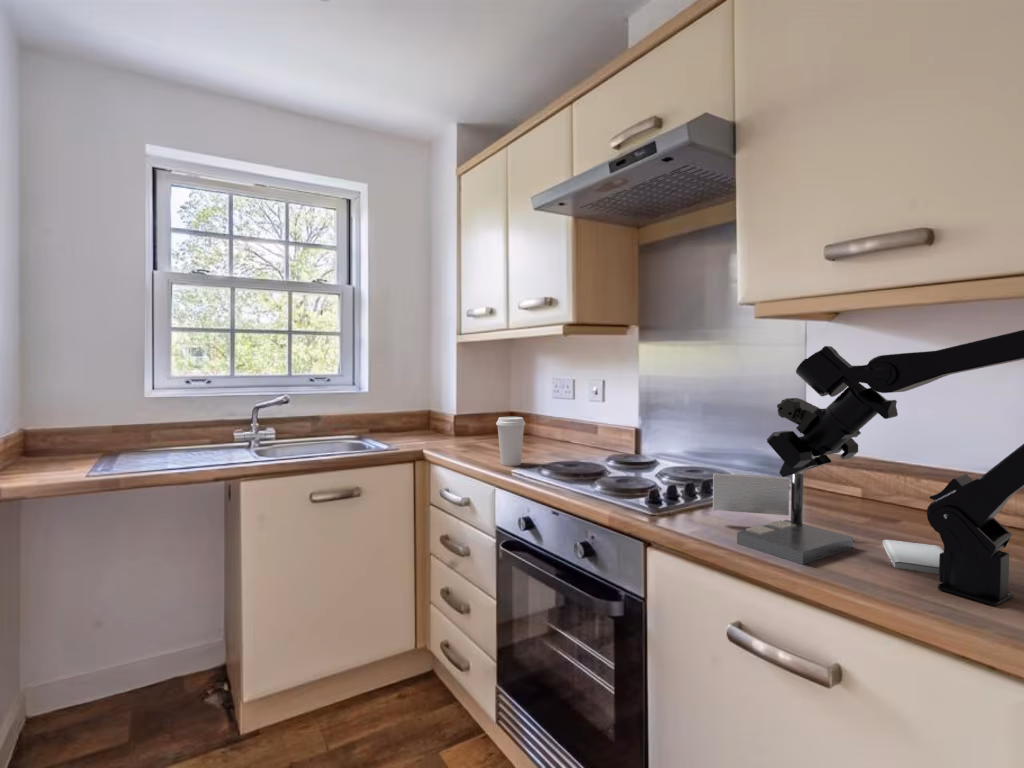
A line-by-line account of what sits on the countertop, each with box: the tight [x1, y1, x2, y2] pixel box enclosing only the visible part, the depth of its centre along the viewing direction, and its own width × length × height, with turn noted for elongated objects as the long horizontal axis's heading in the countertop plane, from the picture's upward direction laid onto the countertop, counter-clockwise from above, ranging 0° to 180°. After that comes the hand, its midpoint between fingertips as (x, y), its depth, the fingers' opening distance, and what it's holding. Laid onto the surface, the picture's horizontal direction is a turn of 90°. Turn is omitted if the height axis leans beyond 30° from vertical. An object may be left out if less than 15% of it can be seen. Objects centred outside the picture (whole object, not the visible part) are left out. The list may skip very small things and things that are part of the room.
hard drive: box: [882, 539, 944, 575], centre depth 87 cm, size 2×8×12 cm
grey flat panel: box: [712, 472, 790, 516], centre depth 105 cm, size 14×2×7 cm, turn 73°
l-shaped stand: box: [736, 472, 854, 566], centre depth 94 cm, size 12×18×11 cm
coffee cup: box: [495, 416, 527, 467], centre depth 173 cm, size 10×10×15 cm
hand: (782, 474), depth 97 cm, fingers closed
